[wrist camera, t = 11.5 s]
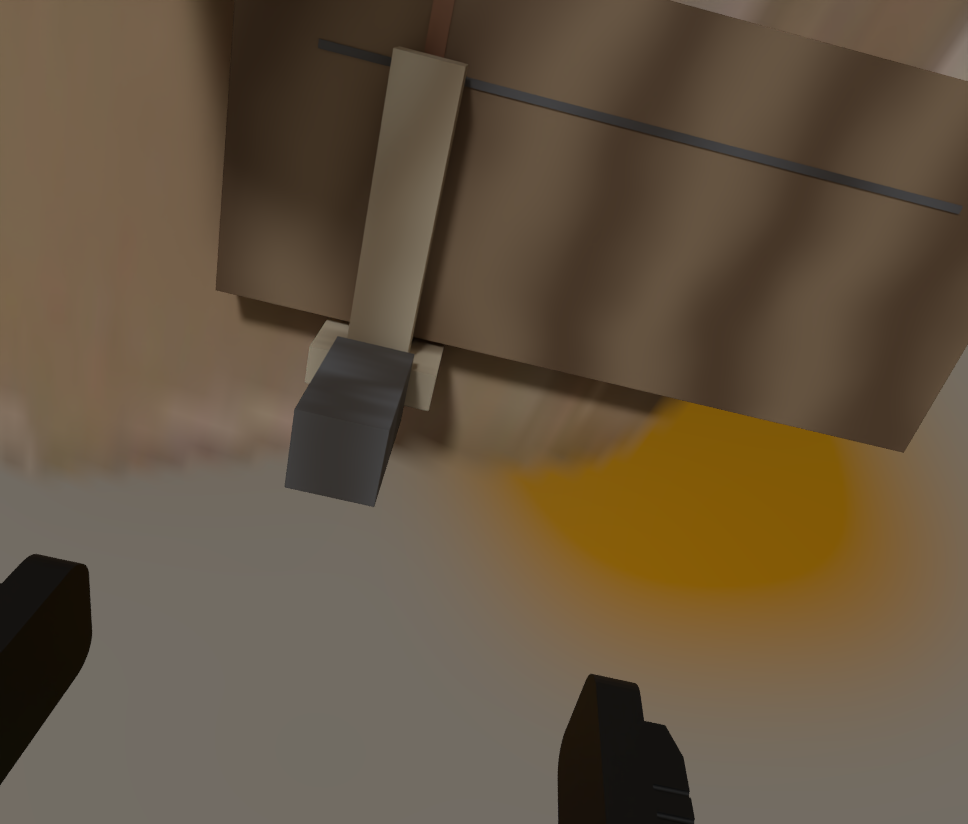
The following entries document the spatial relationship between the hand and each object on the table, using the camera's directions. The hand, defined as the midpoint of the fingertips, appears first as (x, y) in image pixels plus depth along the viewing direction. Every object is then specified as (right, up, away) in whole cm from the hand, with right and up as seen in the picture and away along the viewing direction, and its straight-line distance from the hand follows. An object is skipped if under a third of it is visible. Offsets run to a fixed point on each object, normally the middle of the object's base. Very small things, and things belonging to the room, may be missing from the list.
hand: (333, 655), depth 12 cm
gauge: (-1, +11, +19) cm, 22 cm away
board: (+8, +12, +18) cm, 23 cm away
